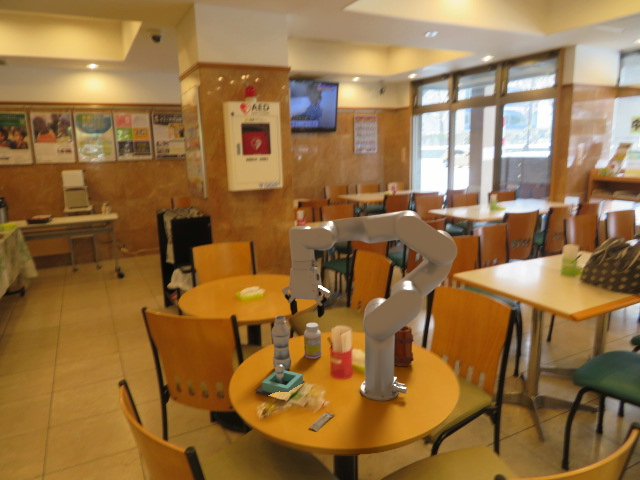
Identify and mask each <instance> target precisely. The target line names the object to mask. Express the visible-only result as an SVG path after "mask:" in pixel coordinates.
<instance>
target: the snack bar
mask: <svg viewBox="0 0 640 480" xmlns="http://www.w3.org/2000/svg"><path fill="white" fill-rule="evenodd" d="M334 416H335V413H331V412H330V413H329V412H327V410H326V411H325V412H323V414H322V415H321V416H320V417H318V419H317V420H315V422H314V423H312V424H310V426H309V427H308V428H309V429H311V431H315V432H316V433H317V432H319V430H320V429H322V427H323V426H325V425H326V424H327V422H328V421H330V420H331V419H332V418H333V417H334Z"/></svg>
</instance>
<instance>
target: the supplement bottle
mask: <svg viewBox="0 0 640 480" xmlns="http://www.w3.org/2000/svg"><path fill="white" fill-rule="evenodd" d="M305 328H306V329H305V331H304V332H303V345H304V346H303V348H304V350H303V351H304V357H306V358H307V359H311V360H313V359H314V360H315V359H319V358H320V357H322V332H321V330H320V329H319V324H318V323H317V322H308V323H306V325H305Z"/></svg>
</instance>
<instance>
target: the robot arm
mask: <svg viewBox="0 0 640 480" xmlns="http://www.w3.org/2000/svg"><path fill="white" fill-rule="evenodd" d="M288 238H289V248H290V259H291V268H290V271H289V285H287V286H285V287H284V288H283V287H282V289H281V293H282V294H283V295H284V298H285V299H286V300H287V302H288V304H289V308H290V314H291V316H293V315H296V314H297V313H298V311H299V310H298V301H297V300H310V301H315V302H316V303H317V306H316V308H317V310H316V311H317V317H318V318H320V319H321V318H322V317H323V316H324V314H325V313H326V312H325V303H326V302H328V300H329V298H330V296H331V294H332V292H331V291H330V290H328V289H327V288H326V287H323V285H322V284H323V283H322V278H321V277H322V276H321V274H320V271H319V267H317V266H319V264H320V263H319V261H317V260H316V258H315V250H318V251H328V250H331V248H332V247H333V246H335V243H342V242H350V241H360V242H363V243H366V244H378V243H384V242H390V241H397V240H398V241H400V242H401V243H402V244H404V246H406V247H408V248H409V249H411V250H413V251H414V252H416V253H417V254H419V256H422V257H423V258H424V259H423V260H422V261H421V262H420V263H419V264H418V265H417V266H416V267H414V269H412V270H411V271H410V272H409V273H407V274H406V275H405V276H404V277H402V278H401V279H400V280H399V281H397V282H396V283H395V284H393V286H392V288H391V291H390V296H389V297H388V298H383V297H375V298H373V299H371V300H370V301H369V302H368V303H367V304H366V306H365V308H364V314H363V320H362V323H363V324H362V328H363V331H364V381H363V382H361V385H360V392H361V394H362V395H363V397H365V398H367V399H369V400H372V401H383V402H384V401H385V402H386V401H389V400H392V399H394V398H396V397H397V396H398V394H399V393H400V394H407V389H408V388H407V387H406V384H405V383H402V382H398V378H397V376H395V364H394V348H395V333H396V332H398V331H399V330H400V329H402V328H403V327H404V326H408V324H410V323H411V322H412V321H413V320H415V319H416V318H417V317H418V316H419V314H420V313H421V312H422V310H423V307H424V298H425V297H426V296H428V295H429V294H430V293H432V291H433V290H435V289H436V288H437V287H438V286H439V285H441V284H442V283H443V282H444V281H445V279H446V278H447V277H448V275H449V274H450V272H451V270H452V267H453V264H454V260H455V259H456V258H457V255H458V246H457V244H456V242H455V239H454V238H453V237H452V235H450V233H449V232H447V231H445V230H442V229H436V228H434V227H433V226H431V225H429V224H428V223H427V222H426V221H424V220H423V219H422V217H421V216H420V215H419V213H417V212H416V211H413V210H400V211H394V212H386V213H380V214H372V215H367V216H359V217H346V218H340V219H334V220H329V221H325V222H322V223H320V224H319V225H318V226H316V227H311V226H309V225H296V226H295V225H294V226H293V227H291V228H289V232H288ZM322 295H324V297H323V296H322Z"/></svg>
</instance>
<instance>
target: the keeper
mask: <svg viewBox="0 0 640 480" xmlns="http://www.w3.org/2000/svg"><path fill="white" fill-rule="evenodd" d="M274 371H275V372H276V380H277V382H276V383H279V384H283V385H287V384H288V383H289V382H287V381H284V366H283V365H281V364H279V365H277V366H276V367H274ZM303 383H305V380H303ZM303 383H302V384H303ZM255 394H257V395H261V396H265V397H268V395H270V394H272V393H270V392H266V391H263V390H262V384H261V385H260V386H259V387H258V388H257V389H256V390H255Z"/></svg>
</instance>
